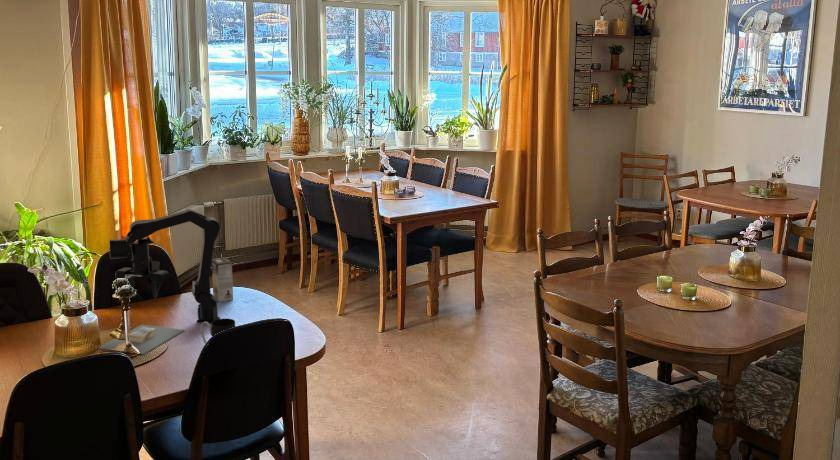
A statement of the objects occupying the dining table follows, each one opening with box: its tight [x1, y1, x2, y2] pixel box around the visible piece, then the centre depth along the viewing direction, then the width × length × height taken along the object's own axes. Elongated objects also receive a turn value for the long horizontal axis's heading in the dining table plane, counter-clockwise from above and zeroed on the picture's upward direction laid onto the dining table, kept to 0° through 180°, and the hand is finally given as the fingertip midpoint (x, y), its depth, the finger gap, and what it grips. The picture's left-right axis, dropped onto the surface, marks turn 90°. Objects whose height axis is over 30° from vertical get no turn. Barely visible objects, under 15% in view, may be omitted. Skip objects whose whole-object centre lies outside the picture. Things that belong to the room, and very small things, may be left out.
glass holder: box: [199, 318, 236, 345], centre depth 252 cm, size 9×14×15 cm, turn 61°
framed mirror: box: [129, 327, 156, 343], centre depth 274 cm, size 8×5×3 cm, turn 165°
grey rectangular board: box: [98, 324, 185, 356], centre depth 274 cm, size 18×24×1 cm
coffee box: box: [211, 256, 234, 302], centre depth 319 cm, size 9×6×16 cm
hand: (144, 297), depth 283 cm, fingers open, 9 cm apart
